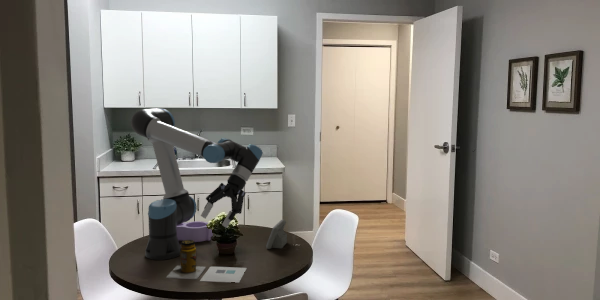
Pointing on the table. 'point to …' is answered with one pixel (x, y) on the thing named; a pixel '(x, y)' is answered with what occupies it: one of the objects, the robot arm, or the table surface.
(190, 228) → the purple compartment organizer
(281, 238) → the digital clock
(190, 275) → the mat
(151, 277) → the table surface
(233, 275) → the tile
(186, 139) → the robot arm
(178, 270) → the condiment
